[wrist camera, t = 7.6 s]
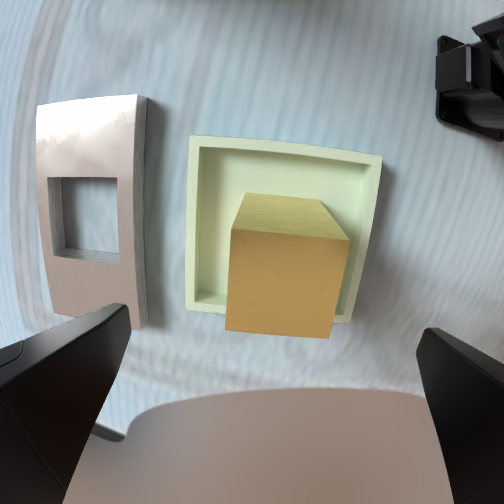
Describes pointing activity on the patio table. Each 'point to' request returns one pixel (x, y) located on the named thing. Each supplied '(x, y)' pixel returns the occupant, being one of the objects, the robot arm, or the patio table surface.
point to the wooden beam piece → (284, 267)
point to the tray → (275, 183)
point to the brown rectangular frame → (128, 201)
